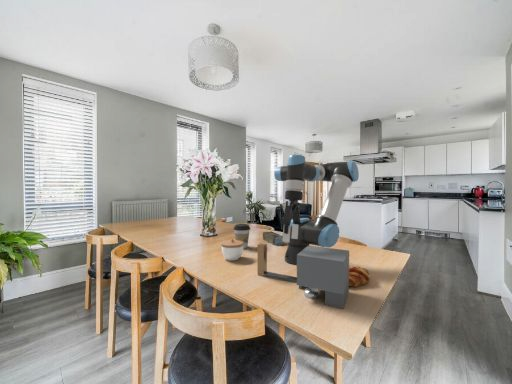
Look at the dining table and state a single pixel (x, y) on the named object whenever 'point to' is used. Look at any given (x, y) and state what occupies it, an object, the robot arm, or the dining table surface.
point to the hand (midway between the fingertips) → (290, 240)
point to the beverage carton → (273, 238)
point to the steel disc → (311, 293)
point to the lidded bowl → (232, 249)
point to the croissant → (358, 276)
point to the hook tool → (263, 266)
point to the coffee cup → (242, 233)
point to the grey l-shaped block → (325, 273)
